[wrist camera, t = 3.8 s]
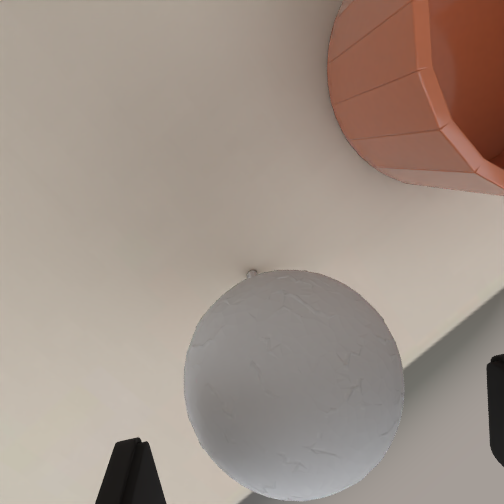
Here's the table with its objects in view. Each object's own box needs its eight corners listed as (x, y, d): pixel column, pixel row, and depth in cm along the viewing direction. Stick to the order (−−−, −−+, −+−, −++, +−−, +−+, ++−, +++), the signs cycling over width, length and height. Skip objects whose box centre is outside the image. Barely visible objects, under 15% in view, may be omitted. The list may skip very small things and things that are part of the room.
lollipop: (276, 344, 26) (369, 591, 11) (174, 303, 24) (128, 525, 10) (328, 247, 24) (507, 382, 10) (224, 198, 23) (256, 271, 8)
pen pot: (342, 204, 24) (428, 234, 15) (310, -52, 21) (396, -222, 11) (549, 163, 25) (752, 166, 16) (552, -90, 21) (812, -274, 12)
